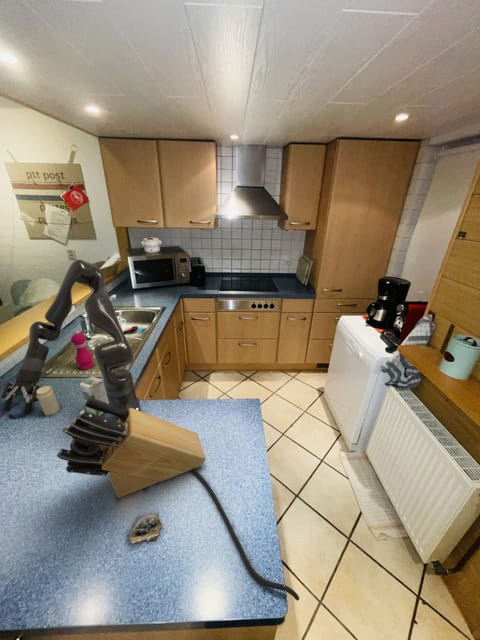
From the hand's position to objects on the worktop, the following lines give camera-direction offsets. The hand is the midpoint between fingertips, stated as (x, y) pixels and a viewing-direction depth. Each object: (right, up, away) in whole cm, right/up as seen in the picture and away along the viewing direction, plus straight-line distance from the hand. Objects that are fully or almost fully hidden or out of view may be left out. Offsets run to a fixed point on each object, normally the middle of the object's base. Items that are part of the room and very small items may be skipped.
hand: (15, 412), depth 96 cm
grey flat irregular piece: (+63, -18, -32) cm, 73 cm away
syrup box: (+30, -1, +4) cm, 31 cm away
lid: (0, 0, +2) cm, 2 cm away
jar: (+12, -1, +3) cm, 12 cm away
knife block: (+58, -12, -18) cm, 62 cm away
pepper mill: (+9, +12, +30) cm, 34 cm away
